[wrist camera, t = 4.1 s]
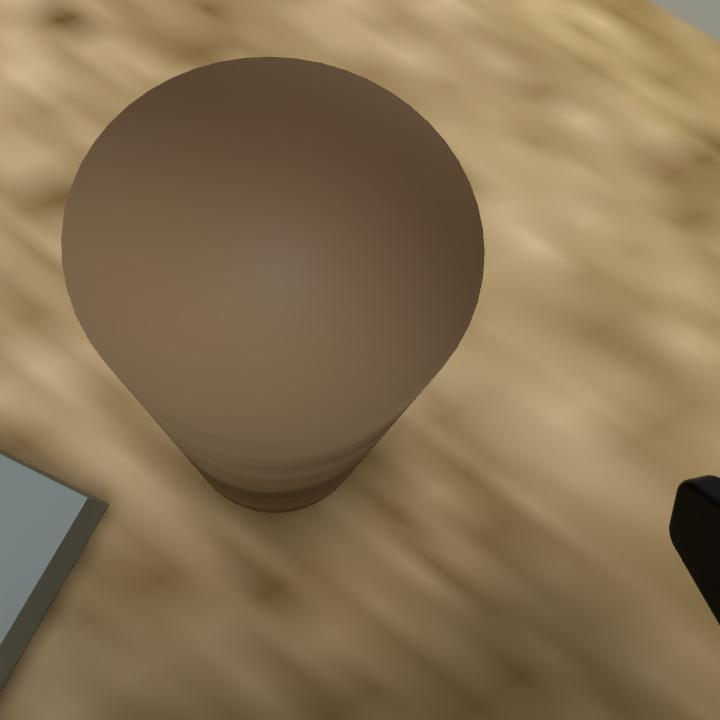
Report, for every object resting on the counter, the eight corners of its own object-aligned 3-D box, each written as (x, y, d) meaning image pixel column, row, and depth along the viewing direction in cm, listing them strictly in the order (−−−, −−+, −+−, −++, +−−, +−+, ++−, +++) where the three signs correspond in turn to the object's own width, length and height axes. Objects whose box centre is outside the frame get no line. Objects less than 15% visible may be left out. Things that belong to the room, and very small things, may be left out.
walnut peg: (317, 543, 19) (381, 519, 7) (154, 462, 19) (-30, 316, 8) (392, 385, 20) (541, 162, 9) (240, 311, 20) (197, -3, 9)
